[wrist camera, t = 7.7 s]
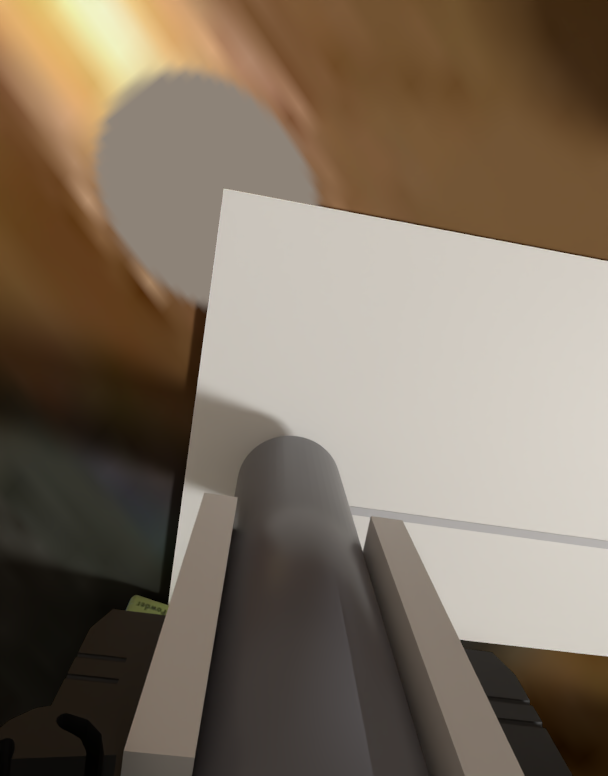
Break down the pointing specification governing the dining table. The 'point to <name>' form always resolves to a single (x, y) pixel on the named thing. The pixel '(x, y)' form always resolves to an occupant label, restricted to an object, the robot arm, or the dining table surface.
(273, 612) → the marker
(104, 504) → the dining table surface
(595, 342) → the paper
